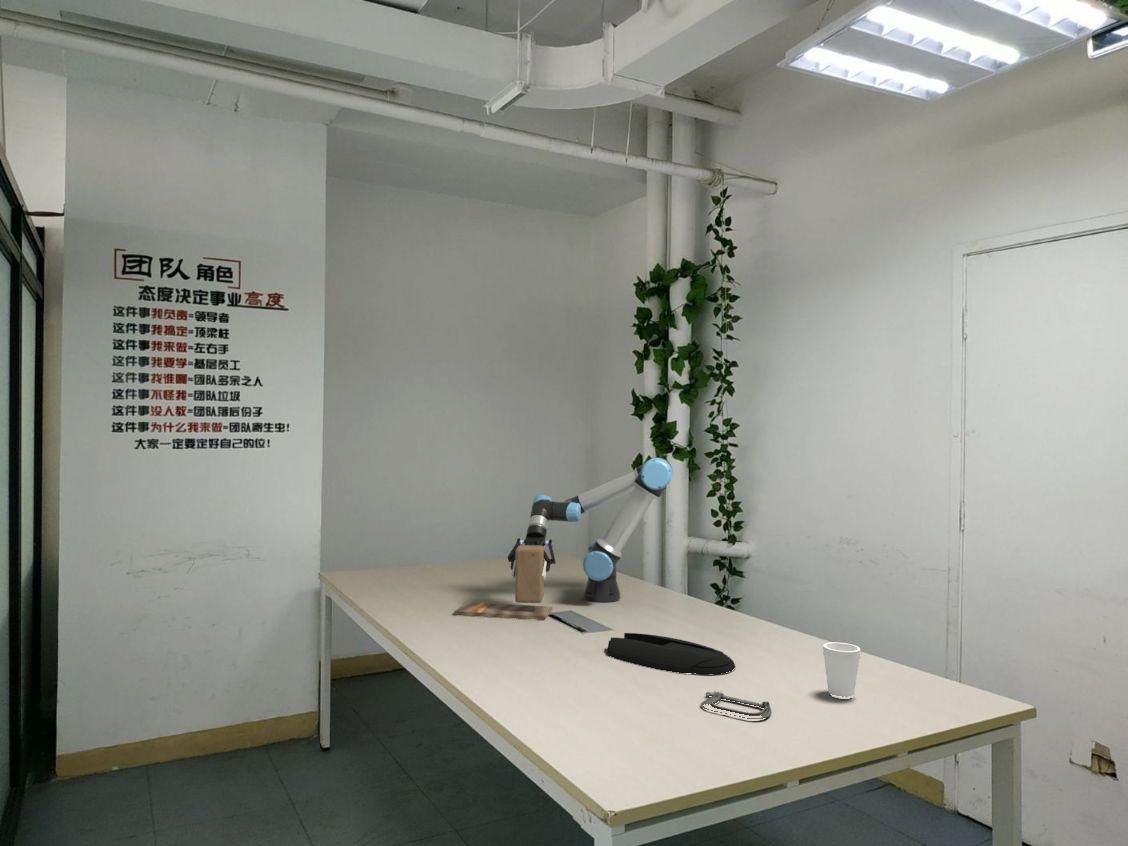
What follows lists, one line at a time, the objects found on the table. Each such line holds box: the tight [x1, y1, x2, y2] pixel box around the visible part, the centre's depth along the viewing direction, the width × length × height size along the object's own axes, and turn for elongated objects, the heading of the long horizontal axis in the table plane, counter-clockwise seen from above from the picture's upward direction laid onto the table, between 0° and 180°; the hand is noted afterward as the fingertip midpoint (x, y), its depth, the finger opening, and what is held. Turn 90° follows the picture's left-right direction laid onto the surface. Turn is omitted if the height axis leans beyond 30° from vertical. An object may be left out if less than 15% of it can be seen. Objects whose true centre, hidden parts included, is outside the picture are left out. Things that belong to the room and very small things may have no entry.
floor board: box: [453, 601, 554, 621], centre depth 304 cm, size 34×16×2 cm, turn 81°
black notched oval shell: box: [606, 632, 736, 675], centre depth 249 cm, size 25×40×5 cm, turn 51°
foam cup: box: [822, 641, 861, 697], centre depth 217 cm, size 10×9×13 cm
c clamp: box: [700, 690, 772, 719], centre depth 207 cm, size 20×17×3 cm
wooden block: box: [514, 544, 545, 604], centre depth 304 cm, size 10×10×20 cm
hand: (528, 577), depth 301 cm, fingers closed on wooden block, 11 cm apart
